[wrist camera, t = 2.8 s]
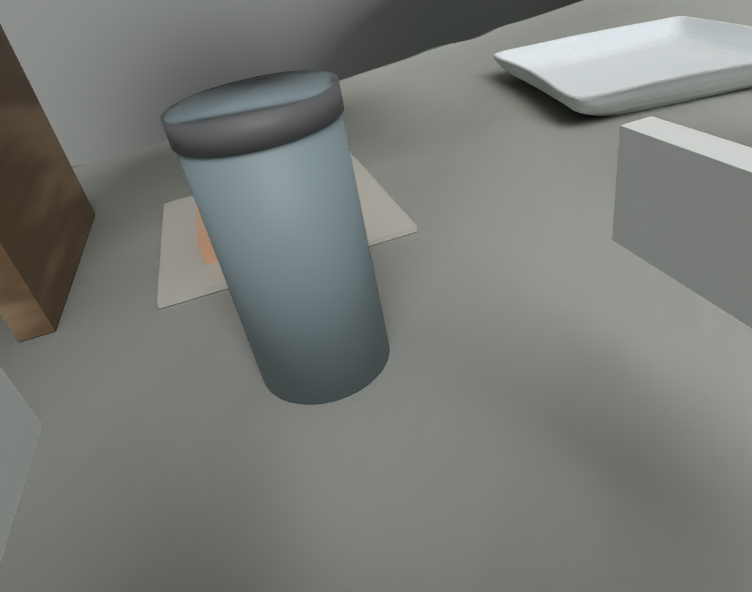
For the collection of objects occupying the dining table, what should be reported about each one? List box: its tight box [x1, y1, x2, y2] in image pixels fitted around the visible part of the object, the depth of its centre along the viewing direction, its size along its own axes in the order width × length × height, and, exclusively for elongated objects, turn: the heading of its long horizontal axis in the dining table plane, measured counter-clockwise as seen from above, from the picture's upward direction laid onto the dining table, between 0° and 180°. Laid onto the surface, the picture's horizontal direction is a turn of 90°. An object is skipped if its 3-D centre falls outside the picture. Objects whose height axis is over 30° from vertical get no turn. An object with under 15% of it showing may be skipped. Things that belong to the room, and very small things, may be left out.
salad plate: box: [494, 16, 752, 116], centre depth 51 cm, size 21×21×3 cm
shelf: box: [0, 25, 95, 342], centre depth 34 cm, size 27×18×24 cm, turn 107°
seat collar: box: [157, 153, 417, 309], centre depth 39 cm, size 16×16×2 cm
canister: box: [161, 70, 389, 404], centre depth 22 cm, size 6×6×12 cm
